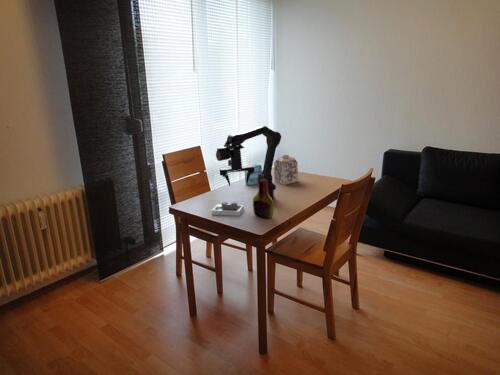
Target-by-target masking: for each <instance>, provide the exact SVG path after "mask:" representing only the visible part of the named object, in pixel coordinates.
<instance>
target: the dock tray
mask: <svg viewBox="0 0 500 375" xmlns="http://www.w3.org/2000/svg"><path fill="white" fill-rule="evenodd" d="M218 205H222V203H221V204H216V205H215V206H214V207H213V208H212V209H211V214H212V215H218V216H236V217H237V216H239V217H240V216H241V214H242V213H243V211H244V210H245V209H244V208H245V207H244V205H243V204H242V205H241V204H237V209H238V211H231V210H222V208H221V209H218V208H217V206H218Z"/></svg>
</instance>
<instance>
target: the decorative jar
mask: <svg viewBox="0 0 500 375" xmlns="http://www.w3.org/2000/svg"><path fill="white" fill-rule="evenodd" d="M298 166H299V165H298V161H297V159H296V158H295V157H292V156H290V155H289V154H283V155H281V157H278V158H276V159H275V161H273V174H274V175H273V176H274V177H273V178H274V182H276V183H278V184H280V185H283V186H286V185H290V184H294V183H297V182H298V180H299V172H298V171H299V168H298Z"/></svg>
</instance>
